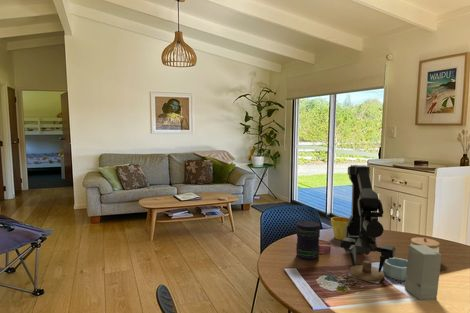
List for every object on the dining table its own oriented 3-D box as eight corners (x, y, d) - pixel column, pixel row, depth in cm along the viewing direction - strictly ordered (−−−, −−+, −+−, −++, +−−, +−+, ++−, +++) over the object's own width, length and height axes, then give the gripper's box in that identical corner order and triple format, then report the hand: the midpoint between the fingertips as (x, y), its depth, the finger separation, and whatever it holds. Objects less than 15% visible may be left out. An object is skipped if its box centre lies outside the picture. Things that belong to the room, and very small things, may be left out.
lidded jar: (443, 265, 136) (444, 242, 135) (414, 262, 138) (415, 240, 137) (433, 255, 146) (434, 234, 145) (406, 253, 148) (407, 233, 147)
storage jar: (323, 256, 144) (324, 223, 143) (312, 263, 137) (312, 228, 136) (303, 251, 151) (304, 219, 150) (291, 257, 144) (292, 223, 142)
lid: (345, 275, 125) (346, 263, 125) (355, 264, 135) (355, 254, 134) (379, 284, 118) (379, 271, 118) (387, 272, 127) (387, 261, 127)
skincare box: (403, 288, 115) (405, 244, 114) (423, 287, 116) (425, 243, 115) (419, 301, 107) (421, 253, 106) (440, 300, 108) (442, 252, 106)
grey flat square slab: (347, 276, 125) (347, 275, 125) (356, 266, 134) (356, 265, 134) (378, 284, 119) (378, 283, 119) (385, 273, 127) (385, 272, 127)
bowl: (380, 275, 126) (381, 263, 126) (387, 266, 134) (387, 255, 134) (410, 282, 120) (410, 270, 120) (414, 272, 128) (415, 261, 128)
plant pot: (331, 240, 165) (332, 221, 164) (329, 234, 175) (329, 216, 174) (353, 241, 163) (354, 222, 163) (349, 235, 174) (350, 217, 173)
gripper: (336, 229, 124) (335, 270, 125) (390, 239, 113) (388, 283, 114) (346, 223, 133) (344, 260, 134) (396, 231, 122) (395, 272, 123)
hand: (366, 269), depth 126 cm, fingers open, 9 cm apart
